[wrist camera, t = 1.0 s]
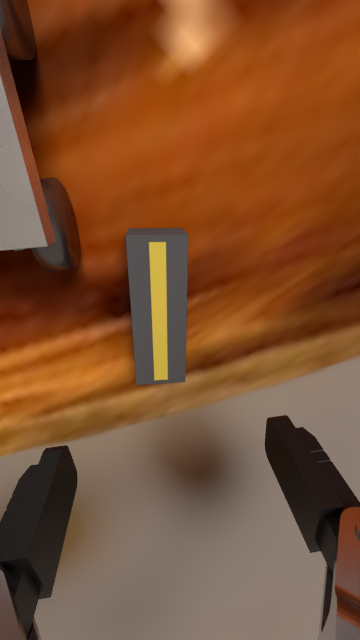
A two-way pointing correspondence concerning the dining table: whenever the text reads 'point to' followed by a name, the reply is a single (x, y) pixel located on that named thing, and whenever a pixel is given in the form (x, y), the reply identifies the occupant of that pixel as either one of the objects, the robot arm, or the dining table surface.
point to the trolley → (28, 164)
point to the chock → (158, 302)
